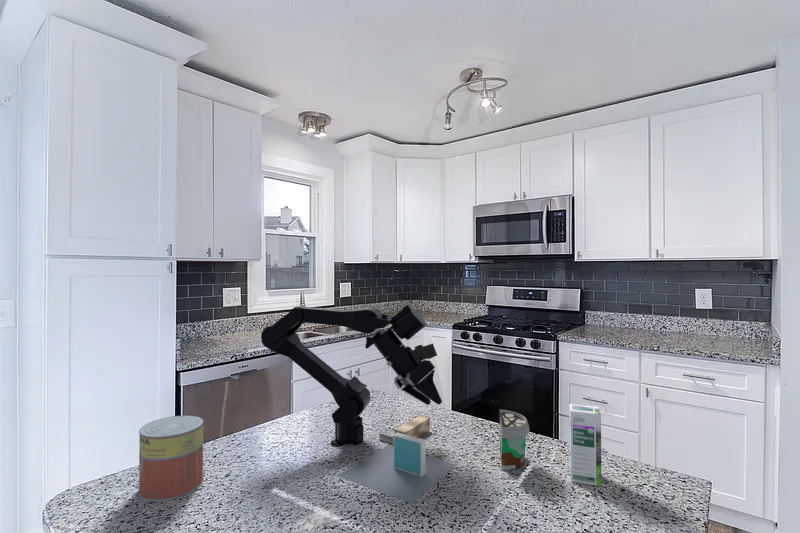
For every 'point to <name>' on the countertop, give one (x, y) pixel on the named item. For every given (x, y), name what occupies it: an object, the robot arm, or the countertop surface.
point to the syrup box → (585, 444)
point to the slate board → (396, 475)
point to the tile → (409, 454)
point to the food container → (512, 439)
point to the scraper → (410, 429)
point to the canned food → (170, 457)
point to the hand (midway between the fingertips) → (434, 403)
